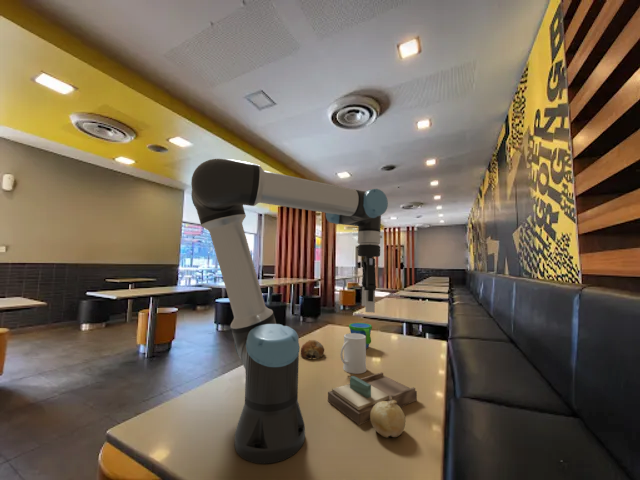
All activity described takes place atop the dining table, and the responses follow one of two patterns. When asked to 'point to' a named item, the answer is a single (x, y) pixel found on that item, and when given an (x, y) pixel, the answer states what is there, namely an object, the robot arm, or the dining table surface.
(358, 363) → the mug
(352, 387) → the cover
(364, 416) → the brown sliding lid box
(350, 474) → the dining table surface
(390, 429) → the onion
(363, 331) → the snack cup
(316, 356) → the bread roll
